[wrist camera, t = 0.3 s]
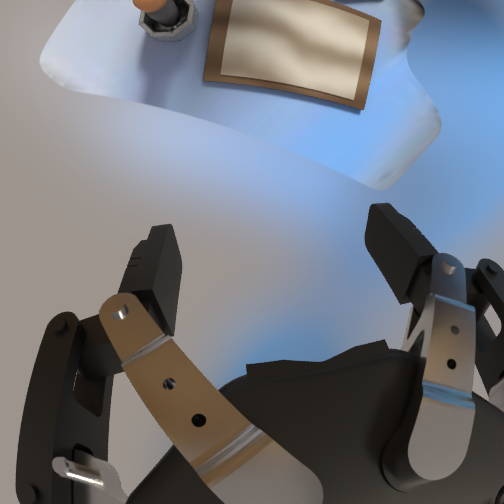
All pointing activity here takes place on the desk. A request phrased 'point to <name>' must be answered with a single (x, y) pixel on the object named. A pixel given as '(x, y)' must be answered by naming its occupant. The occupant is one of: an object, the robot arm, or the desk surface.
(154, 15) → the marker
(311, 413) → the robot arm
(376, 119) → the desk surface
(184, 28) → the pen cup
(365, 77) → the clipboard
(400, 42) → the desk surface
